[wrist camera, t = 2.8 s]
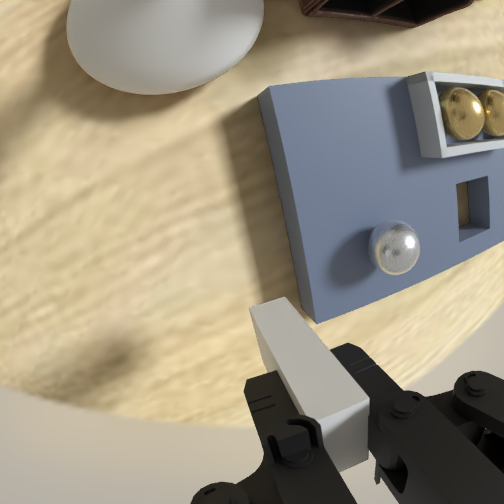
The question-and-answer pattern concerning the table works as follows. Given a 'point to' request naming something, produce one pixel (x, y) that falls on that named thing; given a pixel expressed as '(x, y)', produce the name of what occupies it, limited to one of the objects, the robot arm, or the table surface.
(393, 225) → the steel ball
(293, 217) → the deck
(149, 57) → the flower in vase
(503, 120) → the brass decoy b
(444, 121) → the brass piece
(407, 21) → the letter holder
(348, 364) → the robot arm
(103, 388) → the table surface
